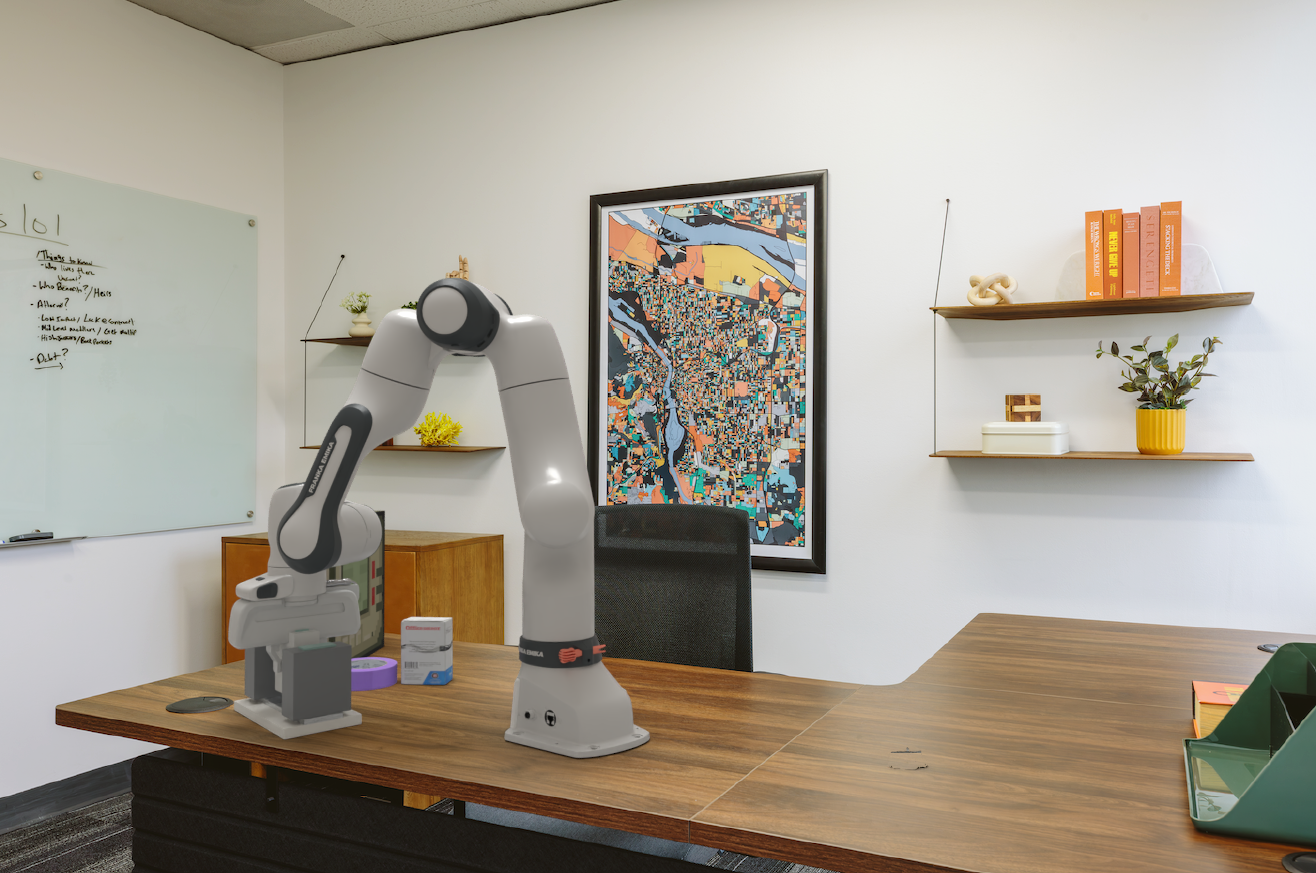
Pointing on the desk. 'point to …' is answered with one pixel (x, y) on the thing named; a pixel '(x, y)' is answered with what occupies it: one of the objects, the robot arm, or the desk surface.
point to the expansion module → (296, 640)
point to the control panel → (366, 599)
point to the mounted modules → (303, 678)
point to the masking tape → (372, 673)
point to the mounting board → (287, 727)
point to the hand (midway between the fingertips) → (296, 669)
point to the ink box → (426, 650)
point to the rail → (277, 705)
